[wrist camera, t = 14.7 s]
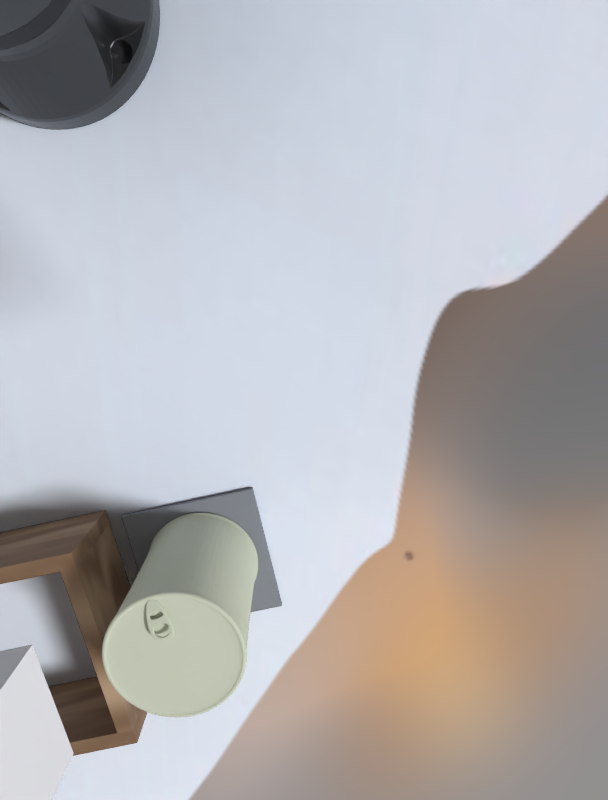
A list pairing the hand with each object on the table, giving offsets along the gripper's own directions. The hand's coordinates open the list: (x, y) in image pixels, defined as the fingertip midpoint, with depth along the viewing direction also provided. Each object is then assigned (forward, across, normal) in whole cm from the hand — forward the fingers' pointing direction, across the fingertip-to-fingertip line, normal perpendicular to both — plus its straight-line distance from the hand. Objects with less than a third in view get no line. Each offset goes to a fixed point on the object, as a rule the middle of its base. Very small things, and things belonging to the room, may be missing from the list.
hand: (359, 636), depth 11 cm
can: (+31, -12, -14) cm, 36 cm away
